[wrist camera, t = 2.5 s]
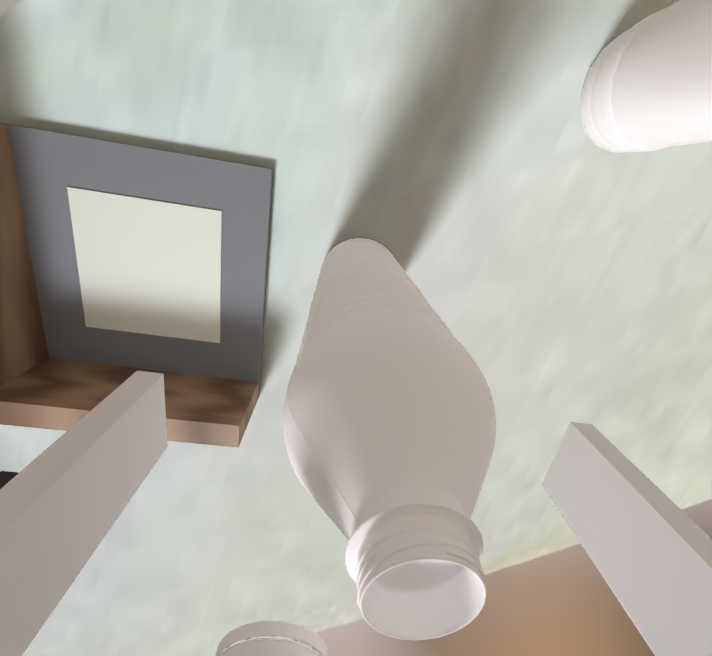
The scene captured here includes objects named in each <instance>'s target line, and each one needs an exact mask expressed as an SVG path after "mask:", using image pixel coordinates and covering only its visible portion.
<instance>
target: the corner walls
mask: <svg viewBox="0 0 712 656" xmlns="http://www.w3.org/2000/svg"><path fill="white" fill-rule="evenodd" d="M136 371H145V372H154V373H162V374H164V392H165V411H166V429H167V441H177V442H188V443H198V444H208V445H218V446H229V447H239V444H240V442H241V440H242V437H243V435H244V432H245V430H246V427H247V425H248V422H249V420H250V417H251V415H252V413H253V410H254V408H255V405H256V403H257V400H258V398H259V386H260V380H259V382H253V381H245V380H236V379H227V378H218V377H210V376H201V375H192V374H184V373H175V372H166V371H157V370H149V369H140V368H131V367H123V366H114V365H105V364H96V363H88V362H79V361H70V360H62V359H53V358H49V355H48V350H47V344H46V339H45V333H44V328H43V322H42V317H41V311H40V306H39V300H38V295H37V289H36V284H35V278H34V273H33V267H32V262H31V256H30V251H29V245H28V240H27V234H26V229H25V223H24V218H23V212H22V207H21V201H20V196H19V190H18V185H17V179H16V174H15V168H14V163H13V157H12V152H11V146H10V141H9V135H8V130H7V124H4V123H0V424H3V425H14V426H24V427H34V428H44V429H55V430H65V431H68V430H69V429H70V428H71V427H73V426H74V425H75V424H76V423H77V422H78V421H80V420H81V419H82V418H83V417H84V416H85V415H86V414H88V413H89V412H90V411H91V410H92V409H93V408H95V407H96V406H97V405H98V404H99V403H100V402H101V401H103V400H104V399H105V398H106V397H107V396H108V395H110V394H111V393H112V392H113V391H114V390H115V389H116V388H118V387H119V386H120V385H121V384H122V383H123V382H125V381H126V380H127V379H128V378H129V377H130V376H131V375H133V374H134V373H135V372H136Z"/></svg>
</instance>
